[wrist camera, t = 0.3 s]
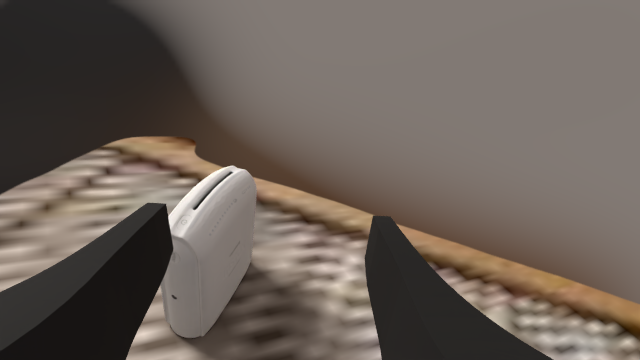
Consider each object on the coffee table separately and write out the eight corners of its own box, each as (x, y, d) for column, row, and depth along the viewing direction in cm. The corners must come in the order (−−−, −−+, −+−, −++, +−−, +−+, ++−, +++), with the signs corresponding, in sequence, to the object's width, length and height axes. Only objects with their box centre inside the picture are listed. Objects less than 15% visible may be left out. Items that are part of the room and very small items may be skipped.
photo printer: (203, 348, 30) (199, 239, 23) (157, 329, 31) (140, 218, 24) (257, 261, 38) (266, 162, 31) (219, 248, 39) (220, 148, 32)
